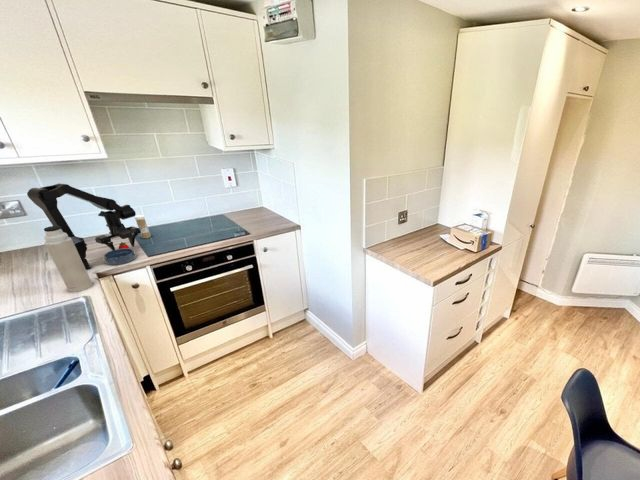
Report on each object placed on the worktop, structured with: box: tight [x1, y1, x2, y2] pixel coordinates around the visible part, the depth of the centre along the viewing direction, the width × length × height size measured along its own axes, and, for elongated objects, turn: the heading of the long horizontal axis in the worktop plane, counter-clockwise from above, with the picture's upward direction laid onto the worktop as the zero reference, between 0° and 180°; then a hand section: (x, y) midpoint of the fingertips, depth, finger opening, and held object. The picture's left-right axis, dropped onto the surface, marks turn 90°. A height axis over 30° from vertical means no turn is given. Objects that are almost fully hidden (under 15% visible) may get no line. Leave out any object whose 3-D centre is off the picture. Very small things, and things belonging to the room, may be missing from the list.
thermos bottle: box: [43, 225, 93, 293], centre depth 135 cm, size 8×8×28 cm
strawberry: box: [118, 241, 130, 249], centre depth 173 cm, size 4×4×6 cm
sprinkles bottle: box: [134, 214, 151, 239], centre depth 190 cm, size 5×5×14 cm
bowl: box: [102, 247, 137, 266], centre depth 165 cm, size 12×12×4 cm
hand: (124, 249), depth 174 cm, fingers open, 8 cm apart
